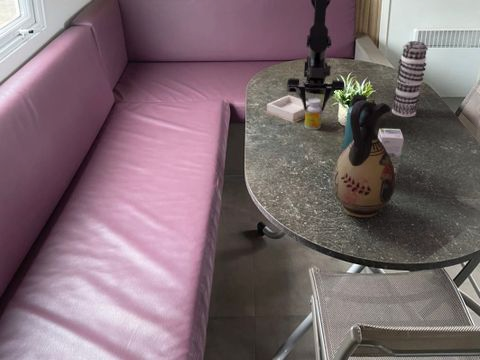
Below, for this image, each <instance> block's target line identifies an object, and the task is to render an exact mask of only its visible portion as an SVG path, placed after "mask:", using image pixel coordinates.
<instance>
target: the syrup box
mask: <svg viewBox="0 0 480 360" xmlns="http://www.w3.org/2000/svg"><path fill="white" fill-rule="evenodd" d="M377 136H378V138H379V140H380V141H381V143H382V144H383V146H384V147H385V149H386V151H387V153H388V155H389V157H390V159H391V161H392V164H393V167H394V172H395V182H396V180H397V174H398V170H399V164H400V161H401V154H402V150H403V144H404V135H403V132H402V131H401V129H400V128H379V130H378V135H377Z"/></svg>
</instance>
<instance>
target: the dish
mask: <svg viewBox="0 0 480 360" xmlns="http://www.w3.org/2000/svg"><path fill="white" fill-rule="evenodd" d="M308 101H309V100H308ZM308 101H307V100H306V106H307V105H308ZM266 110H267V112H268V113H267V114H269V113H271V114H274V115H276V116H275V117H277V116H279V117H282V118H284V119H283V120H285V119H287V120H290V121H292V122H293V121H295V120H297V119H299V118H302V117H304V116H305V113H306V110H304V106H303V103H302V100H301V98H300V97H299V98H298V97H296V96H293V95H289V94H288V95H285V96H283V97H281V98H279V99H276V100H273V101H271V102H269V103H267V104H266ZM271 114H270V115H271ZM274 115H273V116H274ZM279 117H278V118H279ZM282 118H281V119H282ZM287 120H286V121H287ZM290 121H289V122H290ZM292 122H291V123H292Z"/></svg>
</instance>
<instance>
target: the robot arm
mask: <svg viewBox="0 0 480 360" xmlns="http://www.w3.org/2000/svg"><path fill="white" fill-rule="evenodd" d="M330 3H331V0H310V4H311V6H312V9H313V10H314V14H313V25H311V27H310V29H309V34H308V35H307V36H306V48H308V55H307V57H306V60H305V61H304V72H303V78H306V80H305V82H304V81H300V78H294V77H293V78H287V83H286V88H287V89H286V90H287V93H295V95H298V96H299V99H301V100H302V103H303V106H304V110H306V101H307V96H306V92H308V93H310V94H313V95H316V94H320V93H322V92H324V96H323V101H322V105H321V107H322V112H324V109H325V108H326V106H327V103H328V101H329V99H330V98H331V97H334V95H336V94H335V93H334V91H335V90H342V91H343V92H344V90H345V81H344V80H341V79H339V80H338V79H335V80H334V79H332V80H331V83H325V82H326V78H327V77H330V76H331V65H328V62H327V61H326V55H327V51H328V49H330V47H332V39H331V37H330V35H329V29H328V27H327V26H326V17H327V16H326V15H327V8H328V7H329V5H330Z"/></svg>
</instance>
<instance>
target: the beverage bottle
mask: <svg viewBox="0 0 480 360" xmlns="http://www.w3.org/2000/svg"><path fill="white" fill-rule="evenodd" d="M361 100H367V101H368V97H367V95H365V94H361V93H360V94H354V95H353V96H352V100H351V104H352V105H351V106H350V107H349V108H347V111H346V119H345V120H346V121H345V127H344V135H343V136H344V137H343V138H344V139H343V146H342V153H343V152H344V150H345V149H346V148H347V147H348V146H349V145H350V143H351V142H352V141H353V134H352V129H351V124H350V116H351V111H352V107H353V105H354V104H355V103H356V102H358V101H361ZM363 115H364V111H362V112H361V115H360V121H361V119H362V116H363ZM360 121H359V122H360ZM360 129H362V127H360Z"/></svg>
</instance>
